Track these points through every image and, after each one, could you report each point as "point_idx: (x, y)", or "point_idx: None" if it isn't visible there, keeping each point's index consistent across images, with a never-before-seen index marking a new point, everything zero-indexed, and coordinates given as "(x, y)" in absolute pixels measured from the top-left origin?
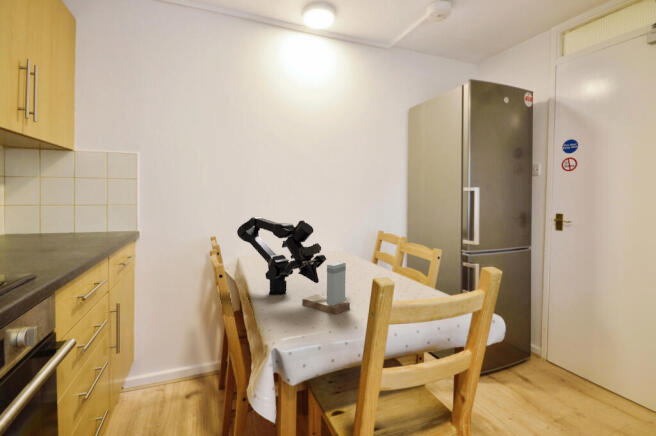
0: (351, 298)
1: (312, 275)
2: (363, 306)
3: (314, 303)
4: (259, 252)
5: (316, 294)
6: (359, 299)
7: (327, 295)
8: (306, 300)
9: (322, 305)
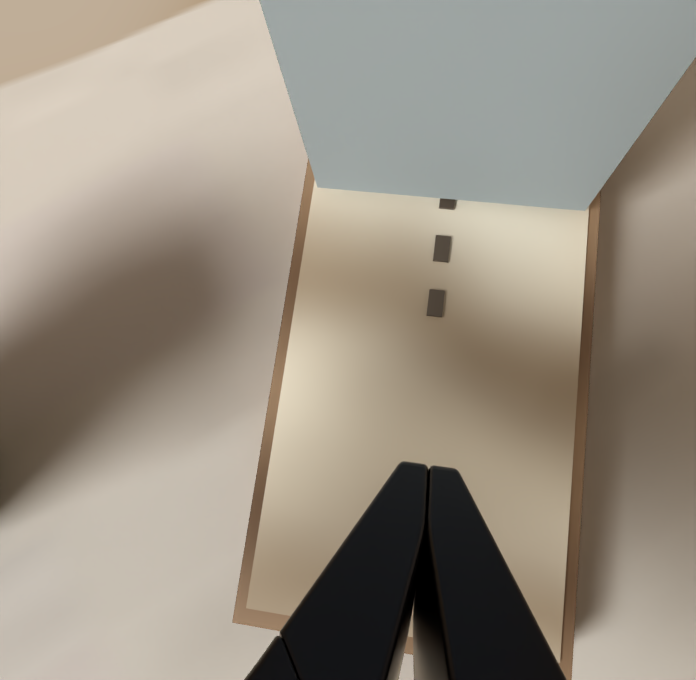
0: (17, 224)
1: (548, 671)
2: (206, 6)
3: (583, 418)
4: None
5: (260, 598)
6: (12, 136)
7: (628, 135)
8: (576, 583)
9: (592, 277)
